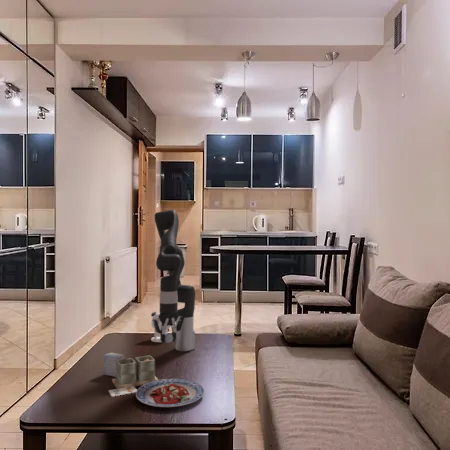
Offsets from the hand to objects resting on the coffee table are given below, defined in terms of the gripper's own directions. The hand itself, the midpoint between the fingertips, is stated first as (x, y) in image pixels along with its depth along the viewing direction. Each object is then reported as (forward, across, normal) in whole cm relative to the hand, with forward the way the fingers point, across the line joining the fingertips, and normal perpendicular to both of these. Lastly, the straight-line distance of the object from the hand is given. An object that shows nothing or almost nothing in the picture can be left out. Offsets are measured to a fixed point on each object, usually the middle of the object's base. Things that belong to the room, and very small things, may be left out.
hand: (168, 341), depth 177 cm
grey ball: (-1, 0, 0) cm, 1 cm away
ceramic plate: (+16, +6, +18) cm, 25 cm away
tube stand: (+16, +13, -2) cm, 21 cm away
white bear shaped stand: (+15, -18, -57) cm, 62 cm away
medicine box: (+16, +19, -14) cm, 29 cm away
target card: (+16, +20, +6) cm, 26 cm away
